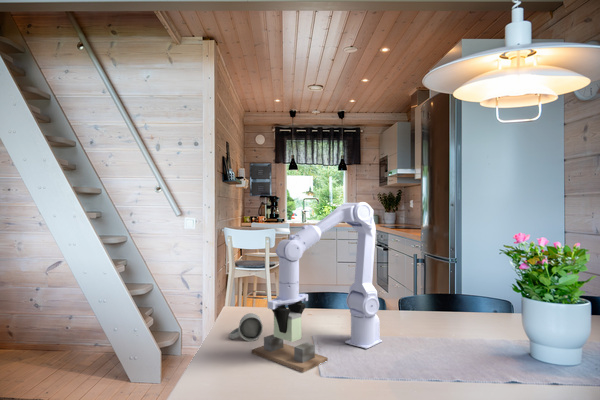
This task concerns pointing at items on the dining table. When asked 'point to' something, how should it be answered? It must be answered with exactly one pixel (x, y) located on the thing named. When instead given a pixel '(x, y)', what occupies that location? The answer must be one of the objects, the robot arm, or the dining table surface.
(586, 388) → the dining table surface
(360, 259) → the robot arm
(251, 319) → the ceramic mug
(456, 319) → the dining table surface
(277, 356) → the post base
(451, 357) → the dining table surface
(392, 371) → the dining table surface
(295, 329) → the bracket block
